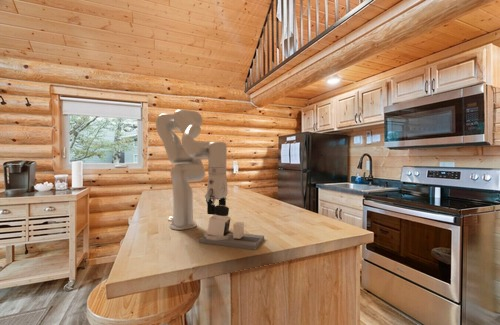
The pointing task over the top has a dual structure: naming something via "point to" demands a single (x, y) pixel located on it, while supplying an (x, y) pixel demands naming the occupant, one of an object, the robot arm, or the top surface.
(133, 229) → the top surface
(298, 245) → the top surface
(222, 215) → the medicine bottle
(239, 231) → the block
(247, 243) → the grey tray
